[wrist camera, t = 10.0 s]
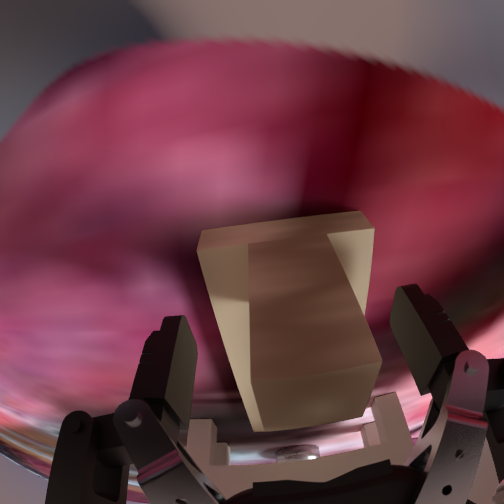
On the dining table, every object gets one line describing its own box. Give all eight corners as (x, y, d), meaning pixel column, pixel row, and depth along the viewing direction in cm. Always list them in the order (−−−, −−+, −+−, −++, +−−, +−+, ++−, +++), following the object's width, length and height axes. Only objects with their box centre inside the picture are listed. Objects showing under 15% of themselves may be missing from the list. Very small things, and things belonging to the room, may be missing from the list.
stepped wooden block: (358, 207, 13) (451, 341, 6) (336, 400, 21) (353, 485, 15) (202, 226, 13) (165, 385, 6) (253, 411, 22) (255, 499, 15)
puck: (319, 440, 26) (322, 455, 24) (317, 453, 29) (319, 466, 27) (273, 446, 26) (274, 462, 25) (276, 458, 29) (277, 472, 27)
